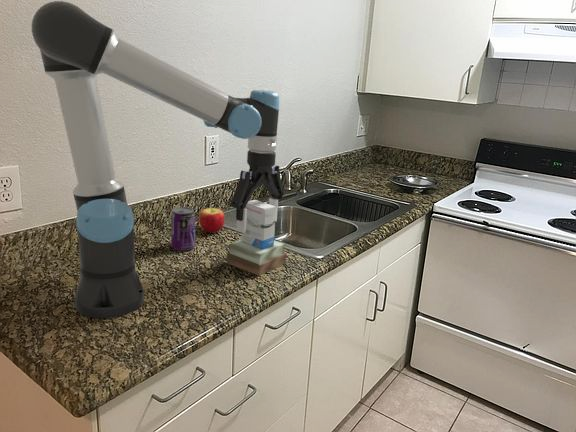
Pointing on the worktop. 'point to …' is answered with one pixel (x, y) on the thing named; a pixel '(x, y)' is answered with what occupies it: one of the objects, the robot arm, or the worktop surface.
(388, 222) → the worktop surface
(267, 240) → the ink box
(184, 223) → the beverage can
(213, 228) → the apple
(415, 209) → the worktop surface
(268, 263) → the pedestal
